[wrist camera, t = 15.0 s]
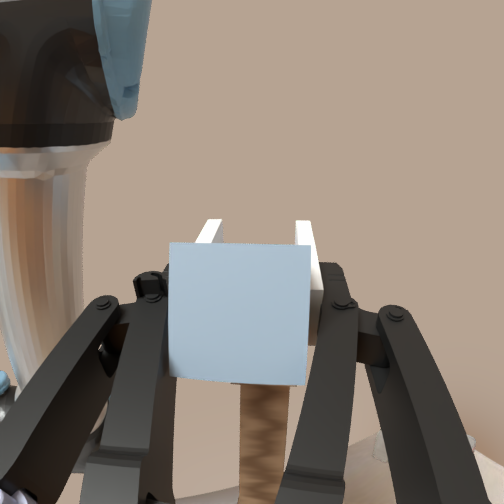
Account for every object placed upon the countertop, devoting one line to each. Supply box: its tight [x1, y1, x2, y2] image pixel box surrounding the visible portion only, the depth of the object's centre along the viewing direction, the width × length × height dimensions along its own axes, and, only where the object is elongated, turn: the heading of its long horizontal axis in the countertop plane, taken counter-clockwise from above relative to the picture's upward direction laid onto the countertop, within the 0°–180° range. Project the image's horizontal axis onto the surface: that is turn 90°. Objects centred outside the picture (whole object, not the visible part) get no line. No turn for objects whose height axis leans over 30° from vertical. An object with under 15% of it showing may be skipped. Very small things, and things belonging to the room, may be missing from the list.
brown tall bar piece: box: [231, 382, 297, 504], centre depth 35 cm, size 7×9×28 cm
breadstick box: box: [168, 242, 311, 385], centre depth 18 cm, size 4×18×4 cm, turn 175°
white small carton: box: [373, 429, 388, 463], centre depth 52 cm, size 4×7×10 cm, turn 118°
